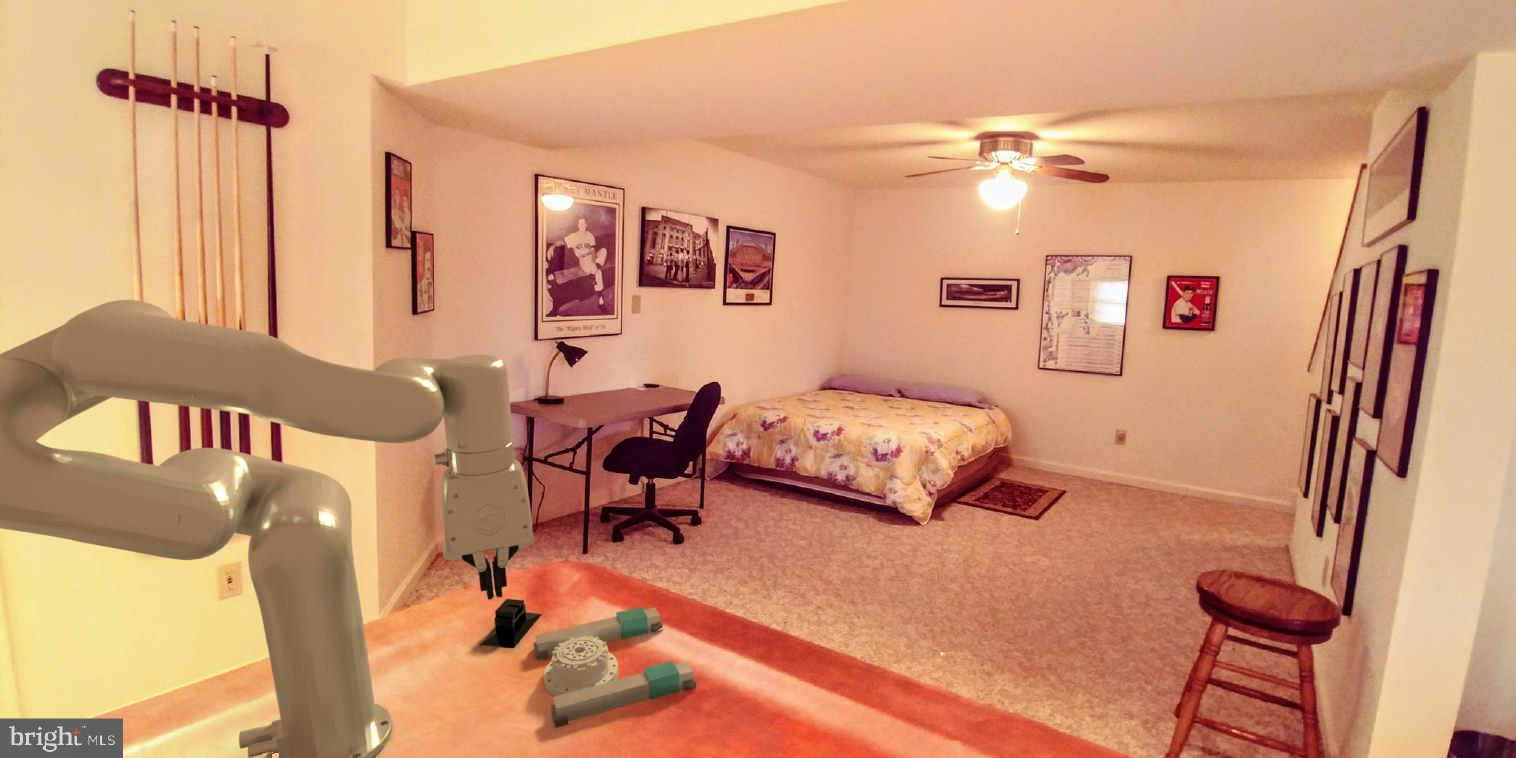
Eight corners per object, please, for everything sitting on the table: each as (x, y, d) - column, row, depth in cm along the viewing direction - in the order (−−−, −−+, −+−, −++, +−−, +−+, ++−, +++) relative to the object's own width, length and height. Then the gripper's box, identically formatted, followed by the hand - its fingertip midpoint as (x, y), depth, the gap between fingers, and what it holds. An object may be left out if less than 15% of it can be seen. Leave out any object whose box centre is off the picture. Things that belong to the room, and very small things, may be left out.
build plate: (514, 659, 106) (511, 631, 105) (467, 653, 107) (464, 626, 106) (551, 612, 118) (549, 586, 117) (508, 608, 119) (506, 582, 118)
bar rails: (555, 727, 91) (553, 707, 91) (533, 648, 107) (532, 631, 107) (696, 687, 99) (695, 668, 98) (656, 619, 115) (656, 602, 114)
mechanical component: (530, 696, 97) (600, 706, 96) (528, 667, 96) (599, 677, 94) (564, 652, 107) (629, 661, 105) (562, 625, 106) (628, 633, 104)
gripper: (413, 477, 83) (430, 622, 87) (550, 458, 89) (559, 594, 93) (413, 456, 89) (429, 592, 94) (540, 440, 96) (549, 568, 100)
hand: (494, 592), depth 94 cm, fingers closed
